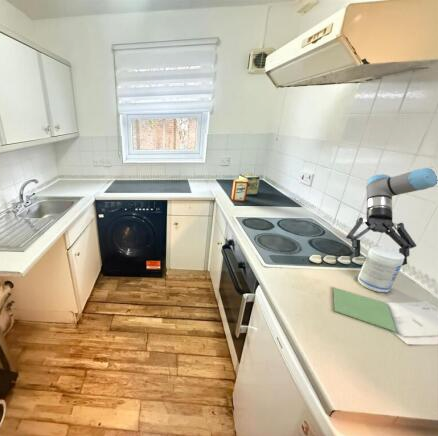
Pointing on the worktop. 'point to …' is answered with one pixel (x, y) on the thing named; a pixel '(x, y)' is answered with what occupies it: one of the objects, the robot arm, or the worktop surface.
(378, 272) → the supplement tub
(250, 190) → the protein box
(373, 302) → the mat
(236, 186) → the baking soda box
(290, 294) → the worktop surface
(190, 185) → the worktop surface
